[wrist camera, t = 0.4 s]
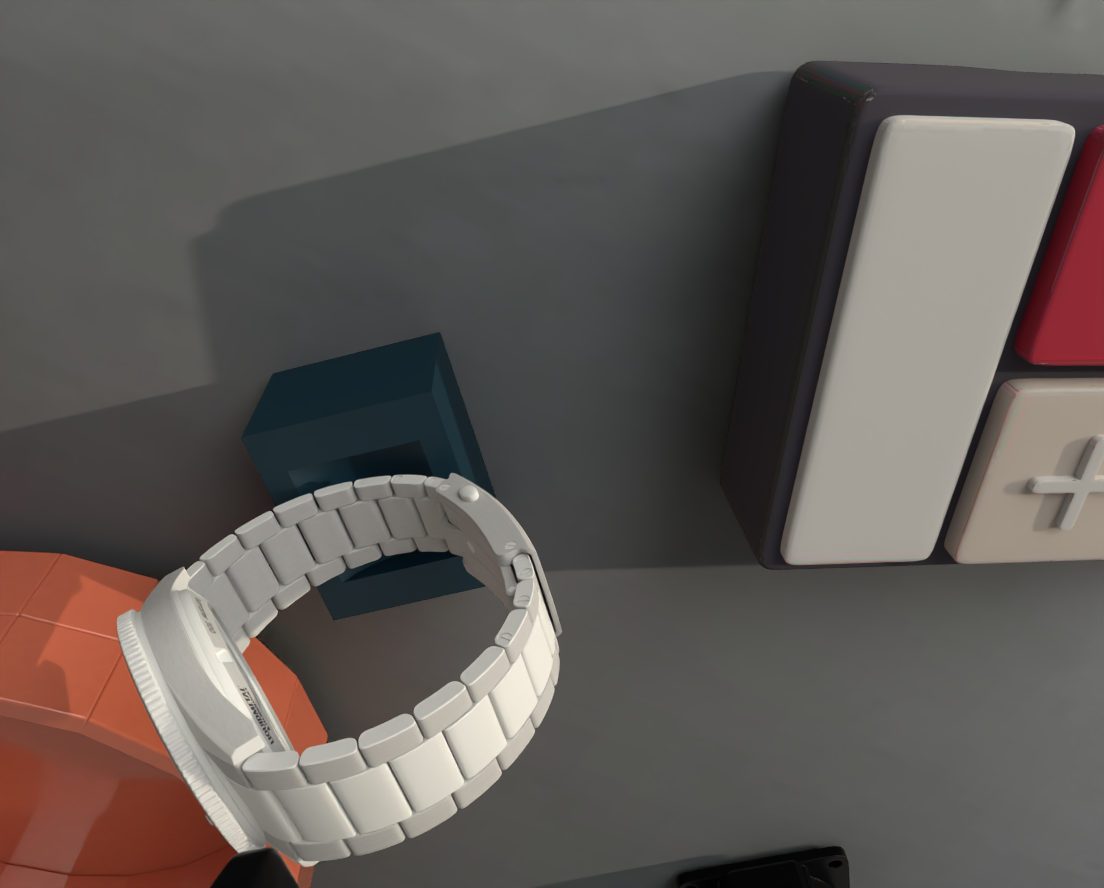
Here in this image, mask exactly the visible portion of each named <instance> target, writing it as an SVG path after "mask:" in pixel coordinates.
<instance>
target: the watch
mask: <svg viewBox="0 0 1104 888" xmlns="http://www.w3.org/2000/svg"><path fill="white" fill-rule="evenodd" d="M241 439H242V441H243V443H244V445H245V446H246V448H247V450H248V452H249V454H250V456H251V458H252V460H253V462H254V464H255V466H256V468H257V470H258V472H259V474H260V476H261V478H262V480H263V482H264V484H265V486H266V488H267V490H268V492H269V494H270V496H271V498H272V500H273V502H274V504H275V506H276V507H275V508H273V511H274V513H275V515H276V517H277V519H278V521H279V523H280V525H279V524H278V522H277V520H276V518H275V516H274V514H273V513H272V512H271V511H268V512H266V513H264V514H262V515H260V516H258V517H256V518H254V519H253V520H251V521H249V522H247V523H246V524H244V525H242V526H241V527H239V528H238V529H236V530H235V534H236V536H237V537H236V536H235V535H233V534H231V535H229V536H227V537H225V538H224V539H223V540H221V541H220V542H218V543H217V544H216V545H214V546H213V547H212V548H210V549H209V550H208V551H207V552H205V553H204V554H203V555H202V556H201V557H200V558H199V560H200V561H197V562H195V563H194V564H193V565H191V566H190V567H189V568H188V569H187V570H185V568H184V567H181V568H179V569H177V570H175V571H174V572H172V573H170V574H168V575H166V576H165V577H164V578H163V579H162V580H161V581H160V582H159V584H158V585H157V586H156V587H155V588H154V590H153V591H152V592H151V594H150V595H149V596H148V598H147V599H146V601H145V602H144V604H143V606H142V607H141V611H139V612H137V611H135V610H129V611H127V612H126V613H124V614H122V615H120V616H118V618H117V633H118V639H119V643H120V647H121V650H122V653H123V656H124V659H125V662H126V664H127V667H128V670H129V672H130V675H131V677H132V679H133V682H134V684H135V686H136V689H137V691H138V694H139V696H140V698H141V700H142V703H143V705H144V707H145V709H146V711H147V713H148V715H149V717H150V720H151V722H152V724H153V726H154V728H155V730H156V731H157V733H158V735H159V737H160V739H161V741H162V743H163V745H164V747H165V748H166V750H167V752H168V754H169V756H170V757H171V759H172V761H173V763H174V765H175V766H176V768H177V770H178V771H179V773H180V775H181V776H182V778H183V780H184V781H185V783H186V785H187V786H188V788H189V789H190V791H191V792H192V794H193V796H194V797H195V799H196V800H197V802H198V803H199V805H200V806H201V807H202V809H203V810H204V812H205V813H206V816H205V817H206V819H207V820H208V822H209V823H210V824H211V825H214V826H215V827H216V829H217V830H218V831H219V833H220V834H221V835H222V836H223V838H224V839H225V840H226V841H227V842H228V843H229V845H230V846H231V847H232V848H233V849H234V850H235V851H236V852H238V853H240V852H243V851H248V850H254V849H260V848H265V843H269V844H270V845H271V846H273V847H274V848H275V849H277V850H278V851H280V852H281V853H282V854H284V855H285V856H287V857H288V858H289V859H291V860H292V861H294V862H296V863H297V864H299V865H301V866H303V867H309V866H314V865H315V864H316V863H318V862H319V861H326V860H334V859H340V858H345V857H348V856H349V855H350V854H351V852H353V854H354V855H363V854H367V853H371V852H375V851H378V850H381V849H385V848H387V847H390V846H393V845H396V844H398V843H400V842H402V841H403V840H404V839H405V833H406V835H407V837H408V838H414V837H416V836H418V835H420V834H422V833H424V832H426V831H428V830H430V829H431V828H433V827H435V826H437V825H438V824H440V823H442V822H443V821H445V820H446V819H448V818H449V817H451V816H452V815H454V814H455V813H456V811H457V807H456V805H455V803H454V801H453V799H452V797H451V795H450V794H451V793H452V795H453V797H454V799H455V801H456V803H457V805H458V807H459V808H465V807H466V806H468V805H469V804H470V803H472V802H473V801H474V800H475V799H477V798H478V797H479V796H480V795H481V794H483V793H484V792H485V791H486V790H487V789H488V788H489V787H490V786H491V785H492V784H493V783H495V782H496V781H497V780H498V779H499V777H500V776H501V774H502V772H501V770H500V768H501V769H502V770H505V769H507V768H508V767H509V766H510V765H511V764H512V763H513V762H514V761H515V759H516V758H517V757H518V756H519V755H520V753H521V752H522V751H523V750H524V748H525V747H526V745H527V744H528V743H529V741H530V740H531V738H532V737H533V735H534V733H535V730H534V728H537V727H538V726H539V725H540V724H541V722H542V720H543V718H544V716H545V714H546V712H547V710H548V707H549V705H550V703H551V700H552V697H553V694H554V690H555V689H554V687H553V686H555V685H556V683H557V680H558V674H559V656H558V653H559V646H558V642H557V639H556V637H558V636H559V635H560V634H561V633H562V630H561V626H560V622H559V619H558V615H557V612H556V609H555V606H554V602H553V599H552V596H551V593H550V590H549V587H548V584H547V581H546V578H545V575H544V572H543V569H542V567H541V564H540V561H539V558H538V555H537V552H536V550H535V548H534V546H533V545H532V543H531V541H530V539H529V538H528V536H527V534H526V533H525V531H524V530H523V528H522V527H521V526H520V524H519V523H518V522H517V520H516V519H515V518H514V517H513V515H512V514H511V513H510V512H509V511H508V510H507V509H506V508H505V507H504V506H503V505H502V504H501V503H500V502H499V501H498V500H497V499H496V496H495V493H494V490H493V487H492V485H491V482H490V479H489V476H488V473H487V470H486V467H485V464H484V461H483V458H482V455H481V452H480V449H479V446H478V443H477V440H476V437H475V434H474V431H473V428H472V425H471V423H470V420H469V417H468V414H467V411H466V408H465V405H464V402H463V399H462V396H461V393H460V390H459V387H458V384H457V381H456V378H455V375H454V372H453V369H452V366H451V364H450V361H449V358H448V355H447V352H446V349H445V346H444V343H443V340H442V337H441V334H440V332H439V333H435V334H431V335H427V336H423V337H419V338H415V339H411V340H407V341H403V342H399V343H395V344H390V345H386V346H382V347H378V348H374V349H370V350H366V351H362V352H358V353H354V354H350V355H346V356H342V357H338V358H334V359H330V360H326V361H322V362H318V363H314V364H310V365H306V366H302V367H298V368H294V369H290V370H286V371H282V372H278V373H274V374H273V375H272V377H271V379H270V381H269V383H268V385H267V387H266V389H265V391H264V393H263V395H262V397H261V399H260V401H259V403H258V405H257V407H256V409H255V411H254V413H253V415H252V417H251V419H250V421H249V423H248V425H247V427H246V429H245V431H244V433H243V435H242V437H241ZM239 541H240V542H239ZM240 543H241V544H240ZM241 545H242V546H241ZM258 545H259V546H260V548H261V550H262V551H263V553H264V555H265V557H266V559H267V561H268V563H269V564H270V566H271V568H272V570H273V572H274V574H275V576H276V578H277V579H278V581H279V583H278V581H277V579H276V578H275V576H274V574H273V572H272V570H271V568H270V566H269V565H268V563H267V561H266V559H265V557H264V555H263V553H262V552H261V550H260V548H259V546H258ZM242 547H243V548H242ZM304 574H306V576H307V578H308V580H309V581H310V583H311V584H312V585H313V586H317V588H318V590H319V592H320V594H321V596H322V598H323V600H324V602H325V604H326V606H327V608H328V610H329V612H330V614H331V616H332V618H333V620H337V619H342V618H346V617H351V616H355V615H360V614H364V613H368V612H373V611H377V610H382V609H386V608H391V607H395V606H400V605H404V604H409V603H413V602H418V601H422V600H427V599H431V598H435V597H440V596H444V595H449V594H453V593H458V592H462V591H467V590H471V589H476V588H480V587H485V586H486V587H487V588H489V589H490V590H491V591H492V592H493V593H494V594H495V595H496V596H497V597H498V598H499V599H500V600H501V601H502V603H503V604H504V605H505V606H506V608H507V609H508V611H509V612H510V613H509V615H508V617H507V619H506V621H505V623H504V625H503V626H502V628H501V630H500V631H499V633H498V634H497V636H496V637H495V640H494V642H495V645H496V646H492V647H489V648H487V649H486V650H485V651H484V652H483V653H482V654H481V655H480V656H479V657H478V658H477V659H476V660H475V661H474V662H473V663H472V664H471V665H470V666H469V667H468V668H467V669H466V670H465V671H464V672H463V673H462V674H461V676H460V680H461V682H462V683H460V682H457V681H453V682H450V683H448V684H447V685H445V686H444V687H443V688H441V689H440V690H439V691H437V692H436V693H434V694H433V695H431V696H430V697H428V698H427V699H425V700H424V701H422V702H420V703H419V704H418V705H417V706H416V707H415V708H414V716H415V718H416V720H417V722H418V724H419V726H420V729H419V728H418V726H417V724H416V722H415V720H414V719H413V717H412V716H411V715H409V714H402V715H399V716H397V717H395V718H393V719H391V720H389V721H387V722H385V723H383V724H381V725H378V726H376V727H374V728H371V729H369V730H366V731H365V732H363V733H362V734H361V735H360V737H359V740H358V744H359V746H358V744H357V742H356V740H355V739H353V738H346V739H342V740H338V741H335V742H331V743H327V744H322V745H317V746H313V747H309V748H307V749H306V750H305V751H304V752H303V753H302V755H301V757H300V756H299V754H298V752H296V751H295V750H294V748H293V746H292V744H291V742H290V740H289V738H288V736H287V734H286V732H285V730H284V729H283V727H282V725H281V723H280V721H279V719H278V717H277V715H276V714H275V712H274V710H273V708H272V706H271V704H270V703H269V701H268V699H267V697H266V695H265V693H264V692H263V690H262V688H261V686H260V684H259V683H258V681H257V679H256V677H255V676H254V674H253V672H252V670H251V669H250V667H249V665H248V663H247V662H246V660H245V658H244V656H243V655H242V653H243V652H244V650H245V649H246V648H247V646H248V645H249V643H250V639H249V638H253V637H255V636H257V635H258V634H259V633H260V632H261V631H262V630H263V629H264V627H265V626H266V625H267V624H268V623H269V622H270V621H272V620H273V619H274V618H275V617H276V615H277V613H278V611H277V609H276V608H278V609H281V610H282V609H285V608H287V607H288V606H289V605H291V604H292V603H293V602H294V601H296V600H297V599H298V598H300V597H301V596H303V595H304V594H305V593H307V592H308V591H309V590H310V584H309V582H308V580H307V578H306V577H305V575H304ZM272 601H273V602H272ZM273 603H274V604H273ZM274 605H275V606H274ZM441 731H443V733H444V735H445V737H446V740H447V742H448V744H449V746H450V748H451V751H452V753H453V755H454V757H455V759H456V761H457V764H458V766H459V768H460V770H459V769H458V767H457V764H456V762H455V760H454V758H453V756H452V753H451V751H450V749H449V747H448V745H447V743H446V740H445V738H444V736H443V734H442V732H441ZM388 762H389V764H390V766H391V767H392V769H393V771H394V773H395V775H396V777H397V779H398V781H399V783H400V785H401V786H402V788H403V790H404V792H405V794H406V796H407V798H408V800H409V802H408V800H407V798H406V796H405V795H404V793H403V791H402V789H401V787H400V785H399V783H398V781H397V779H396V777H395V775H394V774H393V772H392V770H391V768H390V766H389V764H388Z"/></svg>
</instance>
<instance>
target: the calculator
mask: <svg viewBox="0 0 1104 888" xmlns="http://www.w3.org/2000/svg"><path fill="white" fill-rule="evenodd" d="M720 484H721V487H722V489H723V491H724V493H725V496H726V498H727V500H728V502H729V504H730V506H731V508H732V510H733V512H734V514H735V516H736V518H737V520H738V522H739V524H740V526H741V528H742V530H743V532H744V534H745V536H746V538H747V540H748V542H749V544H750V546H751V548H752V551H753V553H754V555H755V557H756V559H757V560H758V562H759V564H760V565H761V566H763V567H764V568H766V569H771V570H789V569H819V568H849V567H879V566H909V565H939V564H983V563H1013V562H1043V561H1073V560H1103V559H1104V75H1090V74H1063V73H1036V72H1017V71H1005V70H994V69H984V68H973V67H962V66H942V65H918V64H891V63H864V62H837V61H811V62H807V63H805V64H804V65H802V66H800V67H799V68H798V69H797V70H796V72H795V73H794V75H793V77H792V79H791V82H790V86H789V91H788V96H787V101H786V107H785V113H784V118H783V124H782V130H781V135H780V141H779V147H778V152H777V158H776V164H775V169H774V175H773V181H772V186H771V192H770V198H769V203H768V209H767V215H766V220H765V226H764V232H763V237H762V243H761V249H760V254H759V260H758V266H757V271H756V277H755V283H754V288H753V294H752V300H751V305H750V311H749V317H748V323H747V328H746V334H745V340H744V345H743V351H742V357H741V362H740V368H739V374H738V379H737V385H736V391H735V396H734V402H733V408H732V413H731V419H730V425H729V430H728V436H727V442H726V447H725V453H724V459H723V464H722V470H721V477H720Z"/></svg>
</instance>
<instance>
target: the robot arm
mask: <svg viewBox="0 0 1104 888" xmlns="http://www.w3.org/2000/svg"><path fill="white" fill-rule="evenodd" d="M676 882H677V888H850V885H849V866H848V860H847V857H846V854H845V852H844V849H842V848H841V847H837V846H833V847H826V848H820V849H815V850H809V851H804V852H798V853H792V854H787V855H781V856H776V857H770V858H764V859H759V860H753V861H747V862H742V863H736V864H731V865H725V866H719V867H714V868H708V869H703V870H697V871H691V872H686V873H683V874H681V875H680V876H679V877H678V878H677V881H676ZM209 888H300V887H299V885H298V884H297V882H296V880H295V879H294V877H293V875H292V874H291V872H290V870H289V869H288V867H287V865H286V864H285V862H284V860H283V859H282V857H281V855H280V854H279V852H278V851H277V850H276V849H274V848H272V847H266V848H260V849H254V850H248V851H243V852H240V853H237V854H236V855H234V856H233V857H232V858H231V859H230V860H229V861H228V862H227V863H226V865H225V866H224V868H223V869H222V870H221V872H220V873H219V874H218V876H217V877H216V879H215V880H214V881H213V883H212V884H211V886H210V887H209Z"/></svg>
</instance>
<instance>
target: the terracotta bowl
mask: <svg viewBox="0 0 1104 888" xmlns="http://www.w3.org/2000/svg"><path fill="white" fill-rule="evenodd" d="M159 582H160V581H159ZM159 582H158V580H157V579H155V578H151V577H147V576H144V575H140V574H136V573H133V572H129V571H125V570H122V569H118V568H114V567H111V566H107V565H103V564H100V563H96V562H92V561H89V560H85V559H82V558H78V557H74V556H71V555H67V554H60V553H48V552H26V551H4V550H0V888H209V887H210V886H211V884H212V883H213V881H214V880H215V879H216V877H217V876H218V874H219V873H220V872H221V870H222V869H223V868H224V866H225V865H226V863H227V862H228V861H229V860H230V859H231V858H232V857H233V856H234V855H236V854H237V853H238V852H236V851H235V850H234V849H233V848H232V847H231V846H230V845H229V843H228V842H227V841H226V840H225V839H224V838H223V836H222V835H221V834H220V833H219V831H218V830H217V829H216V827H215V826H214V825H211V824H210V823H209V822H208V820H207V819H206V817H205V816H206V813H205V812H204V810H203V809H202V807H201V806H200V805H199V803H198V802H197V800H196V799H195V797H194V796H193V794H192V792H191V791H190V789H189V788H188V786H187V785H186V783H185V781H184V780H183V778H182V776H181V775H180V773H179V771H178V770H177V768H176V766H175V765H174V763H173V761H172V759H171V757H170V756H169V754H168V752H167V750H166V748H165V747H164V745H163V743H162V741H161V739H160V737H159V735H158V733H157V731H156V730H155V728H154V726H153V724H152V722H151V720H150V717H149V715H148V713H147V711H146V709H145V707H144V705H143V703H142V700H141V698H140V696H139V694H138V691H137V689H136V686H135V684H134V682H133V679H132V677H131V675H130V672H129V670H128V667H127V664H126V662H125V659H124V656H123V653H122V650H121V647H120V643H119V639H118V633H117V618H118V616H120V615H122V614H124V613H126V612H127V611H129V610H135V611H137V612H139V611H141V607H142V606H143V604H144V602H145V601H146V599H147V598H148V596H149V595H150V594H151V592H152V591H153V590H154V588H155V587H156V586H157V585H158V584H159ZM249 639H250V643H249V645H248V646H247V648H246V649H245V650H244V652H243V653H242V655H243V656H244V658H245V660H246V662H247V663H248V665H249V667H250V669H251V670H252V672H253V674H254V676H255V677H256V679H257V681H258V683H259V684H260V686H261V688H262V690H263V692H264V693H265V695H266V697H267V699H268V701H269V703H270V704H271V706H272V708H273V710H274V712H275V714H276V715H277V717H278V719H279V721H280V723H281V725H282V727H283V729H284V730H285V732H286V734H287V736H288V738H289V740H290V742H291V744H292V746H293V748H294V750H295V751H296V752H298V754H299V756H300V757H301V755H302V753H303V752H304V751H305V750H306V749H307V748H309V747H313V746H317V745H322V744H327V743H328V735H327V733H326V730H325V729H324V727H323V725H322V723H321V721H320V719H319V717H318V715H317V713H316V711H315V709H314V707H313V706H312V704H311V702H310V700H309V698H308V696H307V694H306V692H305V690H304V688H303V686H302V684H301V683H300V681H299V679H298V678H297V676H296V675H295V674H294V673H293V672H292V671H291V670H290V669H289V668H288V667H287V666H286V665H285V664H284V663H283V662H282V661H280V660H279V659H278V658H277V657H276V656H275V655H274V654H273V653H272V652H271V651H270V650H269V649H268V648H267V647H266V646H264V645H263V644H262V643H261V642H260V641H259V640H258V639H257V638H256V637H253V638H249ZM266 847H272V848H274V847H273V846H271V845H270V844H269V843H265V848H266ZM274 849H275V848H274ZM276 850H277V849H276ZM277 851H278V850H277ZM278 852H279V854H280V855H281V857H282V859H283V860H284V862H285V864H286V865H287V867H288V869H289V870H290V872H291V874H292V875H293V877H294V879H295V880H296V882H297V884H298V885H299V887H300V888H310V885H311V880H312V875H313V870H314V866H309V867H303V866H301V865H299V864H297V863H296V862H294V861H292V860H291V859H289V858H288V857H287V856H285V855H284V854H282V853H281V852H280V851H278Z"/></svg>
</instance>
